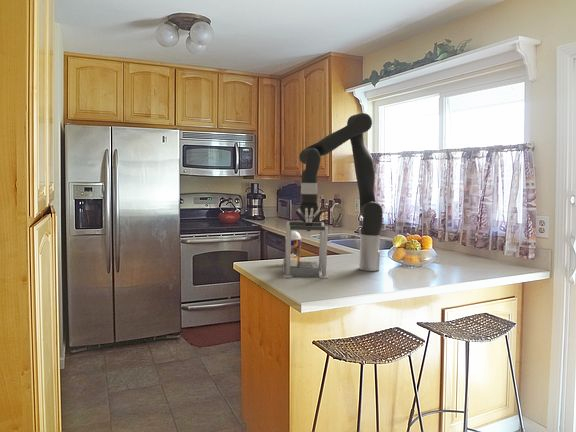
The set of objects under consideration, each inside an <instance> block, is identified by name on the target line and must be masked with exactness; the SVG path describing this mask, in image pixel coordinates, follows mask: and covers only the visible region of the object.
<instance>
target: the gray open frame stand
mask: <svg viewBox="0 0 576 432" xmlns="http://www.w3.org/2000/svg"><path fill="white" fill-rule="evenodd" d="M308 223H309V221H308ZM305 224H306V223H305V222H303V221H286V229H285V231H286V233H285V237H286V248H285V259H286V275H283V274H282V275H283V278H287V279H289V278H290V279H291V278H293V276H292V275H290V256H291V231H293V230H294V231H307V230H310V231H319V246H318V249H319V250H318V266H319V272H321V274H319V277H318V278H319V279H324V280H326V279H329V275H327V261H328V260H327V259H328V258H327V257H328V235H329V234H328V230H329V229H328V228H329V226H325V223H324V222H322V221H321V222H320V221H319V222H317V221H315V222H312V226H305ZM293 225H294V226H293Z"/></svg>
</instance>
